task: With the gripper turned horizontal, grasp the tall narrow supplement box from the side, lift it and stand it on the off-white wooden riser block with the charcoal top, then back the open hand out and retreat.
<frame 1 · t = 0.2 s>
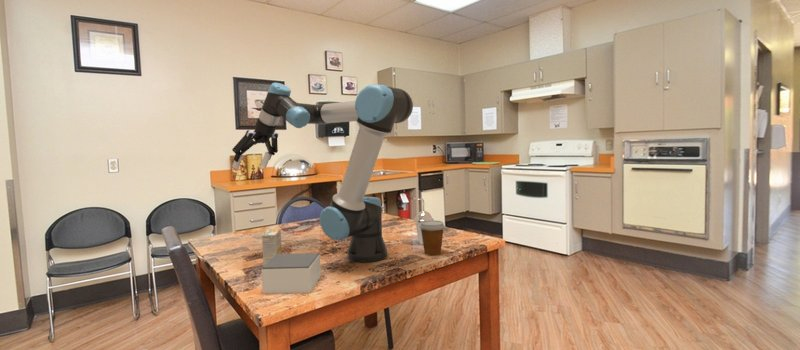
hand: (249, 166, 157), 35 cm above the table, tool tilted 35°, fingers open, 13 cm apart
riser block: (293, 285, 120), on the table
disposable coffee cup: (432, 253, 150), on the table
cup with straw: (423, 243, 165), on the table
supplement box: (273, 268, 136), on the table
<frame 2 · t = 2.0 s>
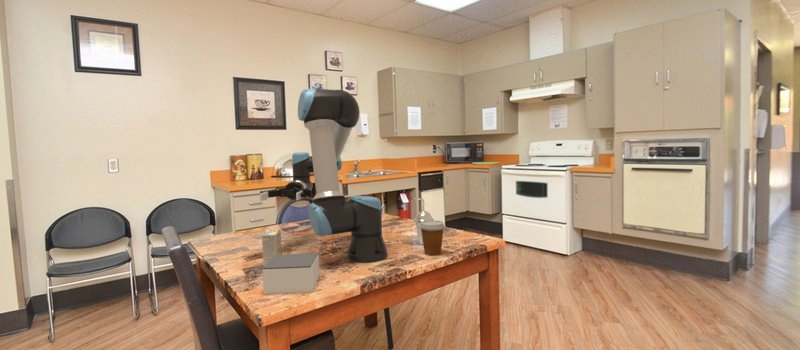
hand: (279, 197, 144), 24 cm above the table, tool horizontal, fingers open, 13 cm apart
nothing on the table moved.
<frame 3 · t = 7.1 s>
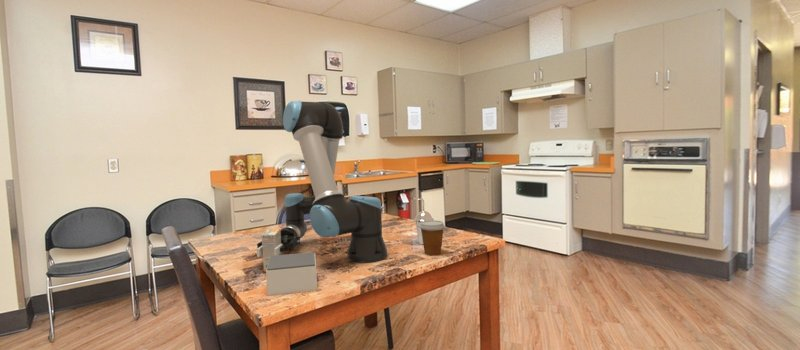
hand: (266, 252, 130), 7 cm above the table, tool horizontal, fingers closed on supplement box, 5 cm apart
supplement box: (273, 268, 136), on the table, touching gripper
when the fingers open (16 cm above the table, at t = 12.3 s): supplement box drops 1 cm, point 8 cm above the table.
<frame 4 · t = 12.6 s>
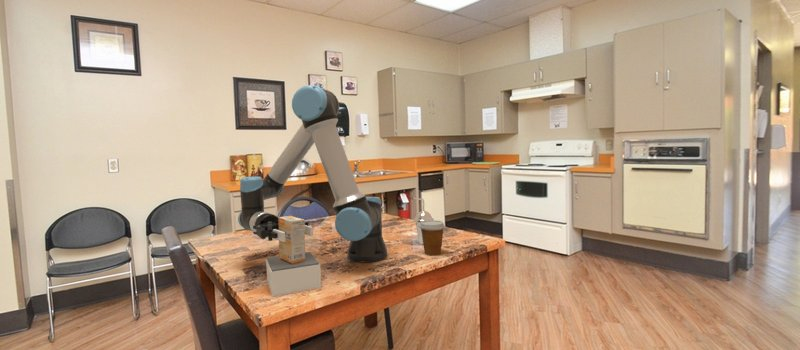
hand: (298, 234, 115), 16 cm above the table, tool horizontal, fingers open, 8 cm apart
supplement box: (291, 260, 119), point 8 cm above the table
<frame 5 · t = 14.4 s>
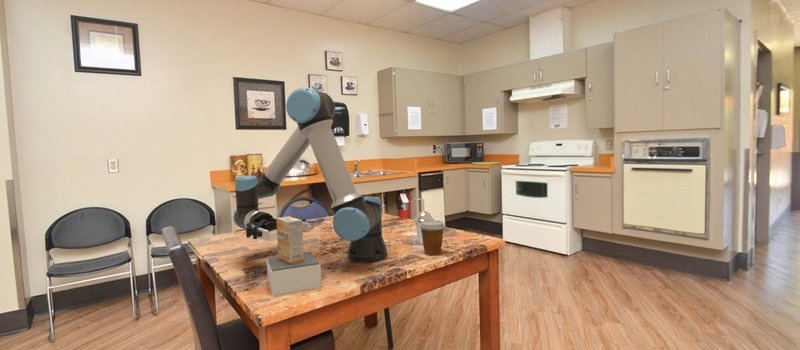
hand: (289, 231, 119), 17 cm above the table, tool horizontal, fingers open, 13 cm apart
riser block: (293, 285, 120), on the table, touching supplement box
supplement box: (290, 261, 119), point 7 cm above the table, touching riser block
everything else where it was.
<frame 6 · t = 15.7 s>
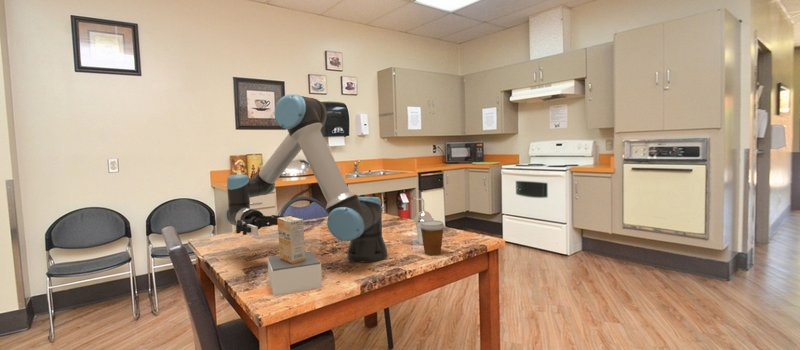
hand: (277, 227, 125), 17 cm above the table, tool horizontal, fingers open, 13 cm apart
nothing on the table moved.
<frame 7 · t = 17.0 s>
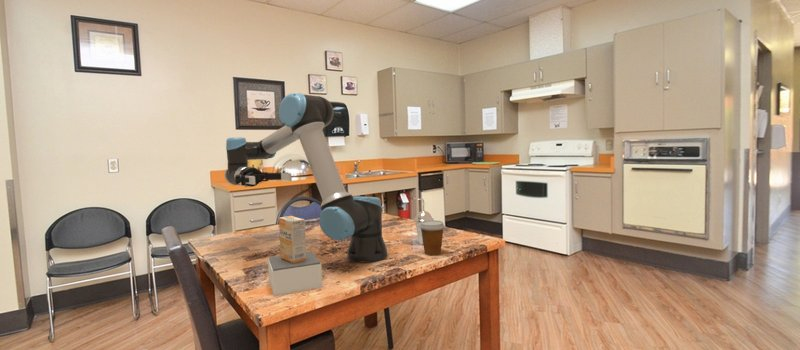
hand: (273, 178, 136), 31 cm above the table, tool horizontal, fingers open, 13 cm apart
nothing on the table moved.
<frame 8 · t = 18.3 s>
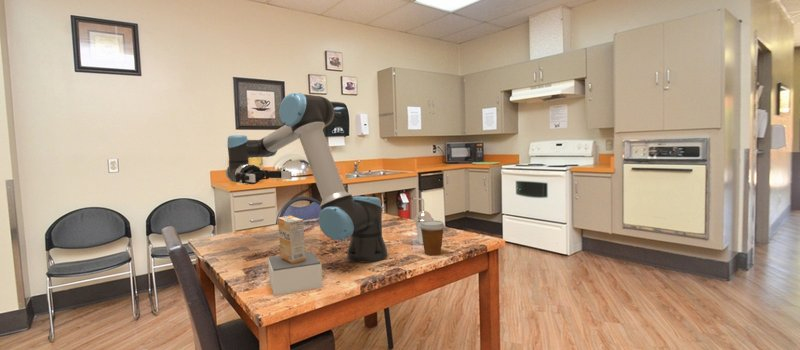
hand: (273, 176, 137), 32 cm above the table, tool horizontal, fingers open, 13 cm apart
nothing on the table moved.
at the end: supplement box inside the target area on the riser block (0.4 cm from its centre), point 7.9 cm above the riser block's base; supplement box tilted 2°; the gripper is holding nothing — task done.
